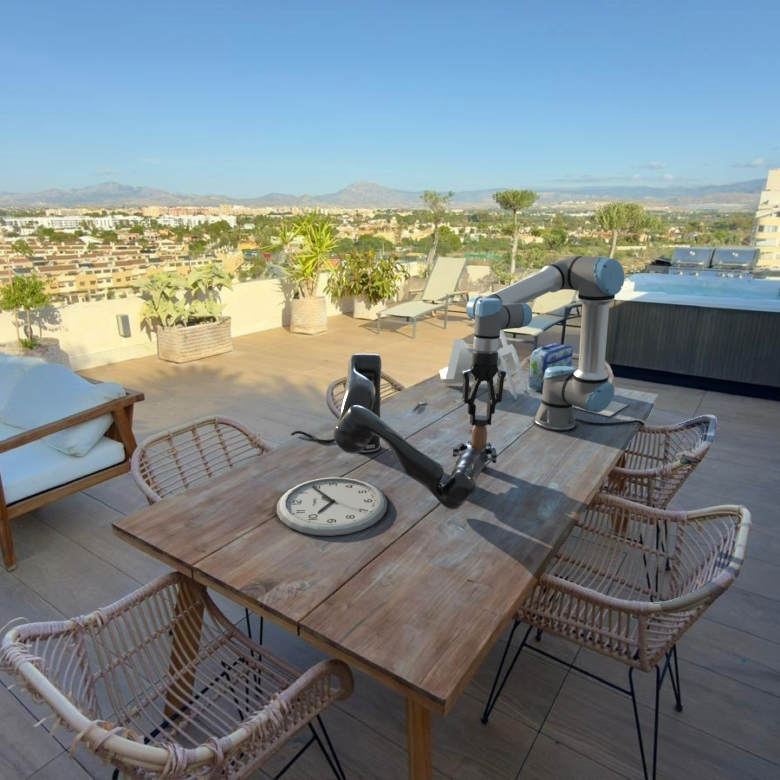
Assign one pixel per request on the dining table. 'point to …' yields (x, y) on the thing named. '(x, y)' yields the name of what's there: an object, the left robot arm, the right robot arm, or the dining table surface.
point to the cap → (481, 420)
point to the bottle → (479, 437)
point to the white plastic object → (463, 361)
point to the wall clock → (331, 506)
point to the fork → (420, 403)
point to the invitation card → (609, 408)
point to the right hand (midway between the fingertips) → (480, 423)
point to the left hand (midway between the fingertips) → (480, 443)
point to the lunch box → (547, 362)
